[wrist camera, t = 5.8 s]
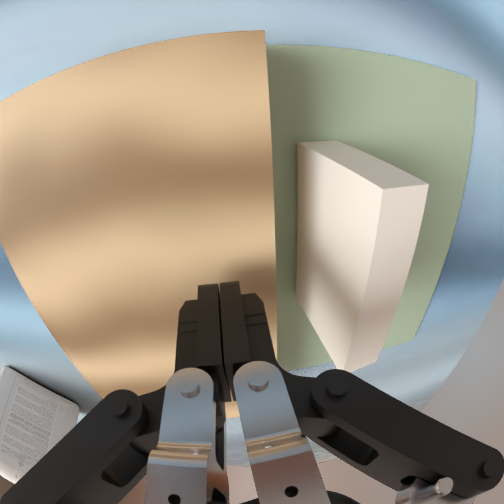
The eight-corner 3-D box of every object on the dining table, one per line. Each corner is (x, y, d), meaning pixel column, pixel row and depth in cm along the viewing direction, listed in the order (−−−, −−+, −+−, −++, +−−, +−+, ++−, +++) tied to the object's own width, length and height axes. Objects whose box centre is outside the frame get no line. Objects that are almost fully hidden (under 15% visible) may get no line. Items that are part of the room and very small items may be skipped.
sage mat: (260, 45, 10) (262, 44, 10) (471, 79, 11) (476, 80, 11) (274, 368, 22) (275, 372, 22) (410, 337, 23) (412, 340, 23)
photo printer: (2, 374, 21) (-24, 463, 10) (1, 359, 19) (-30, 458, 9) (76, 413, 25) (63, 504, 15) (83, 402, 24) (69, 505, 13)
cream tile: (382, 189, 7) (428, 184, 8) (297, 142, 12) (336, 140, 12) (341, 375, 12) (376, 361, 13) (295, 296, 17) (325, 288, 17)
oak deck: (15, 107, 9) (-35, 124, 6) (249, 46, 10) (264, 30, 7) (128, 380, 21) (123, 420, 18) (268, 369, 22) (276, 411, 19)
